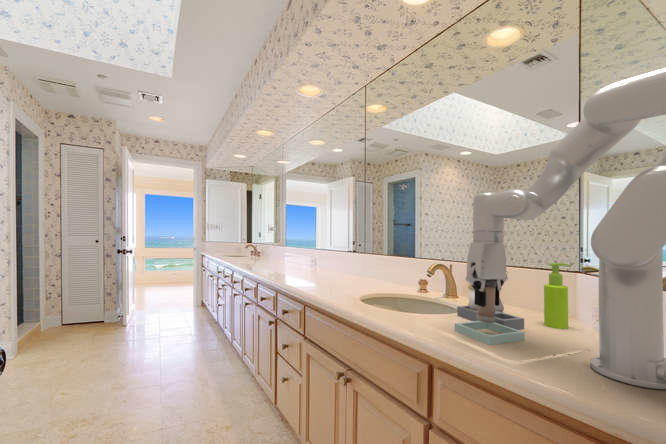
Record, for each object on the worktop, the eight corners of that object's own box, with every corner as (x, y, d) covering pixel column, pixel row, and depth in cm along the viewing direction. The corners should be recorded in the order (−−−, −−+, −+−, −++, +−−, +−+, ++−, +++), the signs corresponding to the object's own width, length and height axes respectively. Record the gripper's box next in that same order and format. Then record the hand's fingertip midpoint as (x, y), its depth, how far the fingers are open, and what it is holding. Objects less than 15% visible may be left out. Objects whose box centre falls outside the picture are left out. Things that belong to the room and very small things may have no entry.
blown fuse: (499, 322, 83) (500, 281, 83) (486, 323, 81) (487, 281, 81) (485, 317, 87) (486, 278, 87) (472, 318, 86) (474, 278, 86)
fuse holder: (524, 332, 90) (524, 318, 90) (503, 335, 87) (503, 320, 87) (475, 316, 107) (475, 304, 107) (457, 318, 104) (457, 306, 104)
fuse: (486, 318, 100) (486, 284, 101) (475, 320, 99) (476, 285, 99) (475, 315, 105) (475, 282, 105) (465, 316, 103) (465, 283, 103)
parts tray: (524, 343, 80) (524, 332, 80) (489, 349, 76) (489, 336, 76) (486, 330, 91) (486, 319, 91) (454, 334, 87) (454, 323, 87)
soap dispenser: (576, 333, 90) (575, 264, 91) (549, 331, 91) (549, 263, 92) (565, 327, 96) (564, 262, 97) (540, 325, 97) (540, 262, 98)
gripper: (498, 238, 91) (498, 300, 91) (453, 237, 85) (452, 303, 85) (522, 239, 84) (521, 306, 84) (474, 237, 78) (473, 310, 78)
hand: (486, 304), depth 84 cm, fingers closed on blown fuse, 4 cm apart
